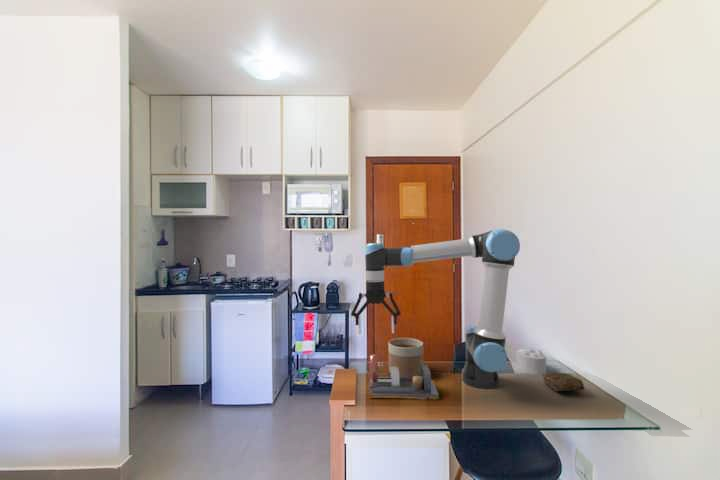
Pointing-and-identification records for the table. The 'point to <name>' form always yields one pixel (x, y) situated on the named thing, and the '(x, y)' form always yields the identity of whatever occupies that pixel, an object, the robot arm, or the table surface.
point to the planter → (406, 356)
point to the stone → (563, 381)
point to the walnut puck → (417, 382)
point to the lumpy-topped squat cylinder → (531, 361)
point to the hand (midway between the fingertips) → (376, 332)
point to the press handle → (382, 382)
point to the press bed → (409, 387)
